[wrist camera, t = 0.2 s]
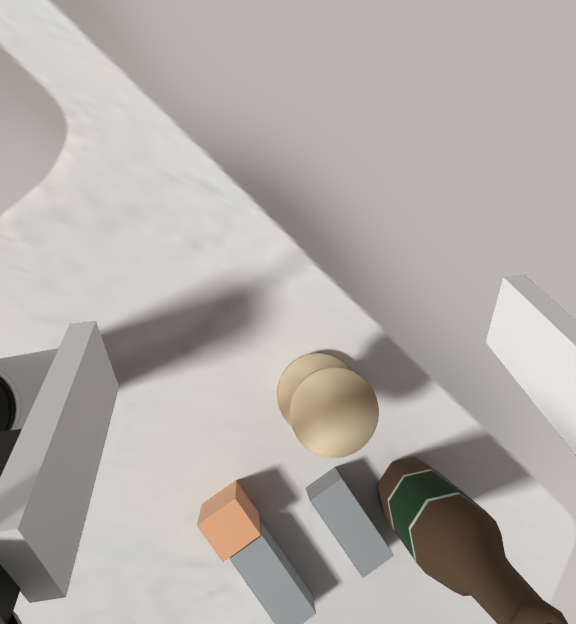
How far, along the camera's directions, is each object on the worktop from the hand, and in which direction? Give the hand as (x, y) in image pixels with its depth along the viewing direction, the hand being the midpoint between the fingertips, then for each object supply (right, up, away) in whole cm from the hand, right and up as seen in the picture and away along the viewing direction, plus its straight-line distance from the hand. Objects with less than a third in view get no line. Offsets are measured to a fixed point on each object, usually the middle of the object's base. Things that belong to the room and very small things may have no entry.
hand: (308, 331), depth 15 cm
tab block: (-7, -21, +35) cm, 41 cm away
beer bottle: (+13, -20, +37) cm, 43 cm away
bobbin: (+3, -8, +35) cm, 37 cm away
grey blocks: (+2, -25, +35) cm, 43 cm away
